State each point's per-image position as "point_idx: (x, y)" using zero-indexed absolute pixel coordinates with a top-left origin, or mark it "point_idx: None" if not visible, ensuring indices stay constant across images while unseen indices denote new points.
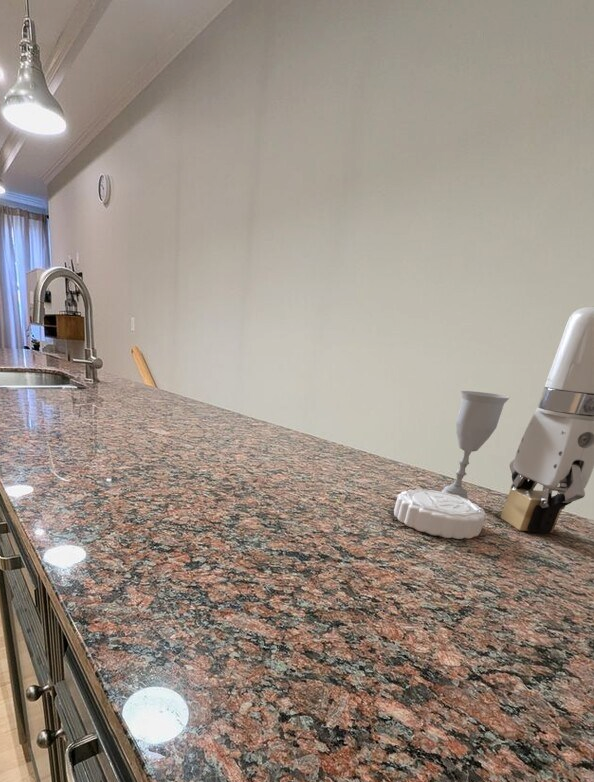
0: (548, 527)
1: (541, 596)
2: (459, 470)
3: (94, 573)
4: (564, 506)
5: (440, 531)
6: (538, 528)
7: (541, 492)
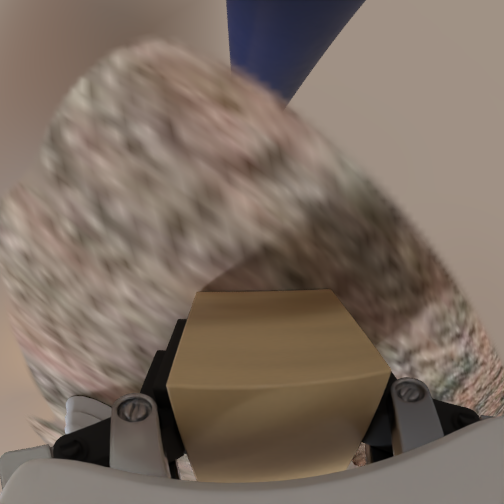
0: None
1: (482, 409)
2: None
3: None
4: (425, 388)
5: None
6: None
7: (217, 413)
